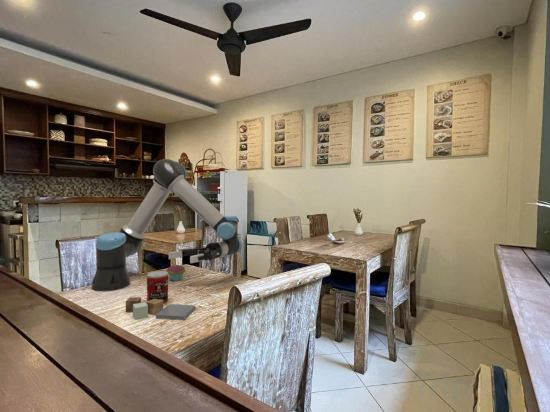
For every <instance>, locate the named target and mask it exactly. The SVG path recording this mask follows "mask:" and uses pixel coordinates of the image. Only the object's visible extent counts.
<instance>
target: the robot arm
mask: <svg viewBox="0 0 550 412" xmlns="http://www.w3.org/2000/svg"><path fill="white" fill-rule="evenodd" d="M152 173H153V176H154V177H153V179H152V182H153V184H152V186H151V188H150V189H149V192H148V193H147V194H146V195H145V197H144V199H143V200H142V202H141V203H140V205H139V206H138V208H137V209H136V211H135V213H134V214H133V216H132V218H131V219H130V220H129V221H128V223H127V224H125V225H122V226H121V228H120V230H119V231H117V232H116V231H115V232H107V233H103V234H100V235H98V236H97V237H96V243H95V253H96V254H95V257H96V259H95V260H96V261H95V262H96V266H95V267H96V268H95V269H96V270H95V273H94V276H93V279H92V282H91V289H92V290H94V291H98V292H99V291H100V292H104V291H106V292H107V291H114V290H120V289H121V290H122V289H123V288H126V287H128V286H130V284H131V279H130V276H129V272H128V270H127V263H126V262H127V257H131V256H134V255H135V254H137V253H138V252H139V251H140V250H141V248H142V246H143V244H144V243H143V241H144V240H145V238H146V236H145V233H146V231H147V229H148V227H149V226H150V224H151V223H152V222H153V220H154V219H155V217H156V215H157V214H158V212H159V210H160V209H161V208H162V206H163V205H164V203H165V202H166V200H167V199H168V197H169V195H170V194H173V193H174V194H175V195H176V196H178V198H179V199H181V200H182V201H183V202H184V203H185V205H187V206H188V207H189V208H190V209H192V211H194V212H195V214H196V215H198V216H199V217H200V218H201V219H202V220H203V221H204V222H205V223H206V224H208V225H209V226H210V227H211V228H212V229H213V230H214V231H215V232H216V233H217V236H218V237H219V238H220V239H222V240H220V241H214V242H210V243H208V244H206V246H204V247H195V248H194V247H193V248H184V249H178V250H177V251H176V250H175V251H172V252H168V260H172V259H173V260H174V258H175V259H178V258H182V257H186V256H187V257H189V264H194V263H199V262H203V261H207V260H208V261H212V260H214V259H215V260H216V259H218V258H220V259H222V257H226V256H233V255H235V254H238V253H240V252H241V251H242V249H243V243H242V241H241V239H239V236H238V233H239V232H238V231H239V229H238V228H239V226H238V225H239V222H238V216H236V215H225V216H224V214H222V213H221V212H220V210H218V209H217V208H216V207H215V206H214V205H213V204H211V202H210V201H208V200H207V199H206V198H205V196H203V195H202V194H201V193H200V192H199V191H198V190H197V189H196V188H194V186H193V185H191V184H190V183H189V182H188V180H186V178H187V170H186V168H185V166H184V165H183V164H181V163H180V162H178V161H176V160H175V161H174V160H172V159H170V158H163V159H160V160H158V161H157V162H156V163H154V165H153V168H152Z"/></svg>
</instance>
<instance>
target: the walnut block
mask: <svg viewBox="0 0 550 412" xmlns="http://www.w3.org/2000/svg"><path fill="white" fill-rule="evenodd" d="M138 303H142V297H141V296H137V297H136V296H132V297H128V298H127V299H126V301H125V313H133V304H138Z"/></svg>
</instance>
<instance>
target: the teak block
mask: <svg viewBox="0 0 550 412" xmlns="http://www.w3.org/2000/svg"><path fill="white" fill-rule="evenodd" d="M145 302H146V304H147V305H148V315H152V316H156V314H157V313H159V312H160V311H161V310H162V309H164V304H163V300H159V299H153V300H150V301H148V302H147V301H145Z"/></svg>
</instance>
